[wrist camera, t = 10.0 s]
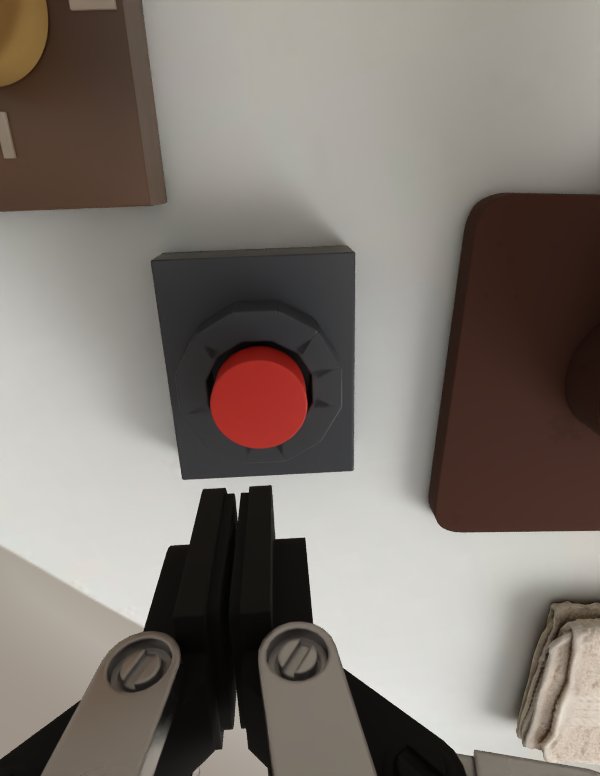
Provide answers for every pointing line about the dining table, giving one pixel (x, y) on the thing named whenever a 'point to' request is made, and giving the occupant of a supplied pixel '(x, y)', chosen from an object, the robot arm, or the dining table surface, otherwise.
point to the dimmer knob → (21, 37)
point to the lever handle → (523, 370)
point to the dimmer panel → (83, 115)
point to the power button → (259, 397)
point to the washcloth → (565, 687)
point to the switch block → (260, 328)
